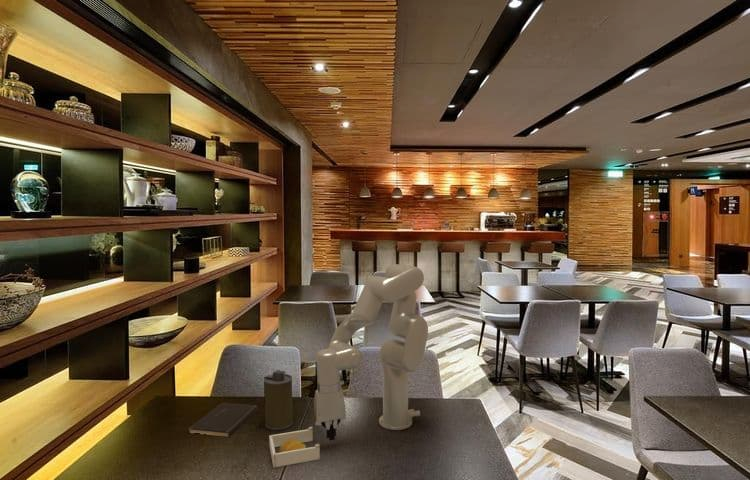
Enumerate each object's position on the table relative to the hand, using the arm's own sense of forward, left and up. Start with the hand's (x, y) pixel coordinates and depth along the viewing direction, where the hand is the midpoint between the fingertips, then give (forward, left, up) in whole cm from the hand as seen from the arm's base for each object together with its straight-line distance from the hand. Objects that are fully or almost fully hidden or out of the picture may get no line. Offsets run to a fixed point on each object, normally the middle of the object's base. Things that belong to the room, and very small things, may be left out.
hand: (331, 438), depth 149 cm
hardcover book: (+34, -32, -3) cm, 47 cm away
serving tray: (+13, 0, -3) cm, 13 cm away
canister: (+15, -23, -3) cm, 27 cm away
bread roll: (+13, +1, -3) cm, 13 cm away
